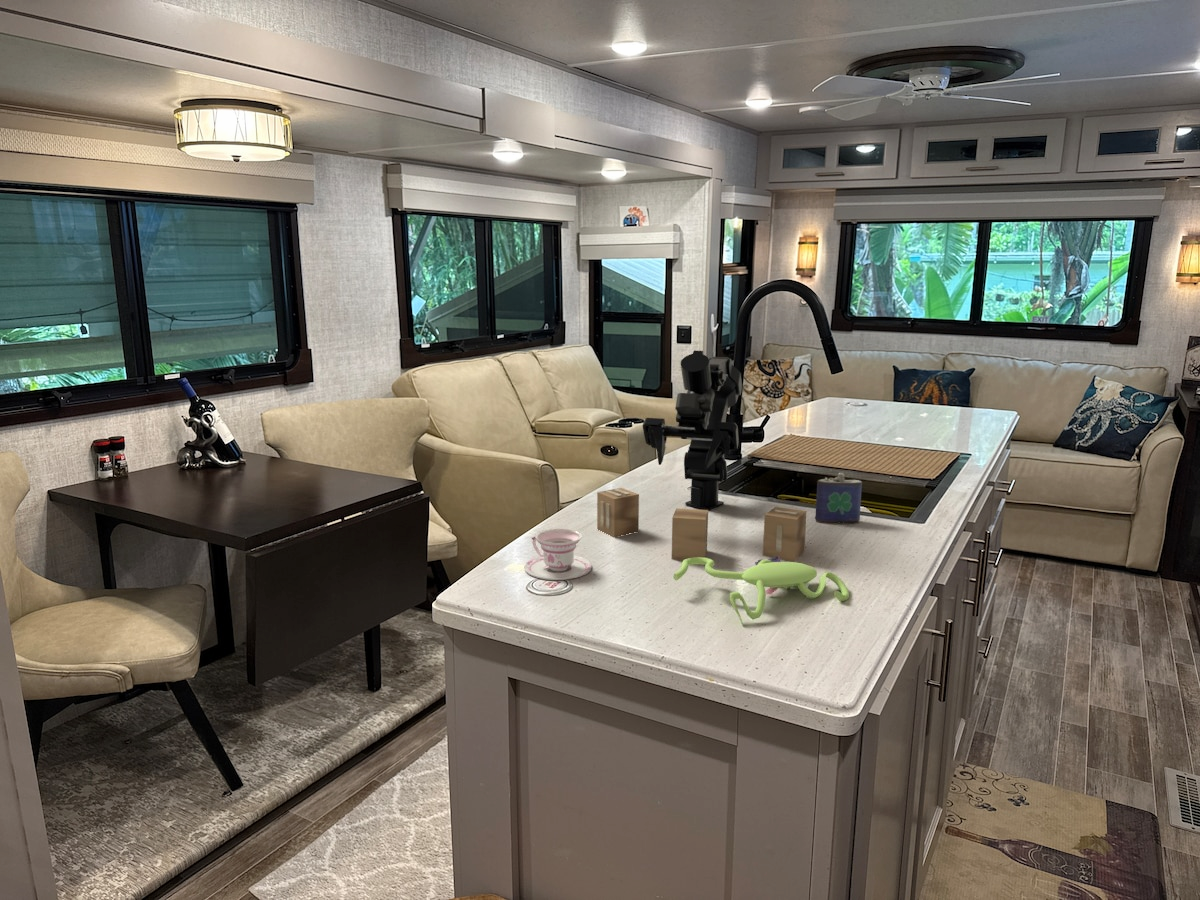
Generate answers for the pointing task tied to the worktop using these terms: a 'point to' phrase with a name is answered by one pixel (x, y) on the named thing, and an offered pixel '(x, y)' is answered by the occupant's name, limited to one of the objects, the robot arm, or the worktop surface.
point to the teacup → (557, 555)
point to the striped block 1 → (617, 512)
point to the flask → (838, 500)
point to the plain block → (689, 533)
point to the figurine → (769, 579)
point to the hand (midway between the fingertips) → (682, 465)
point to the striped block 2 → (784, 533)
